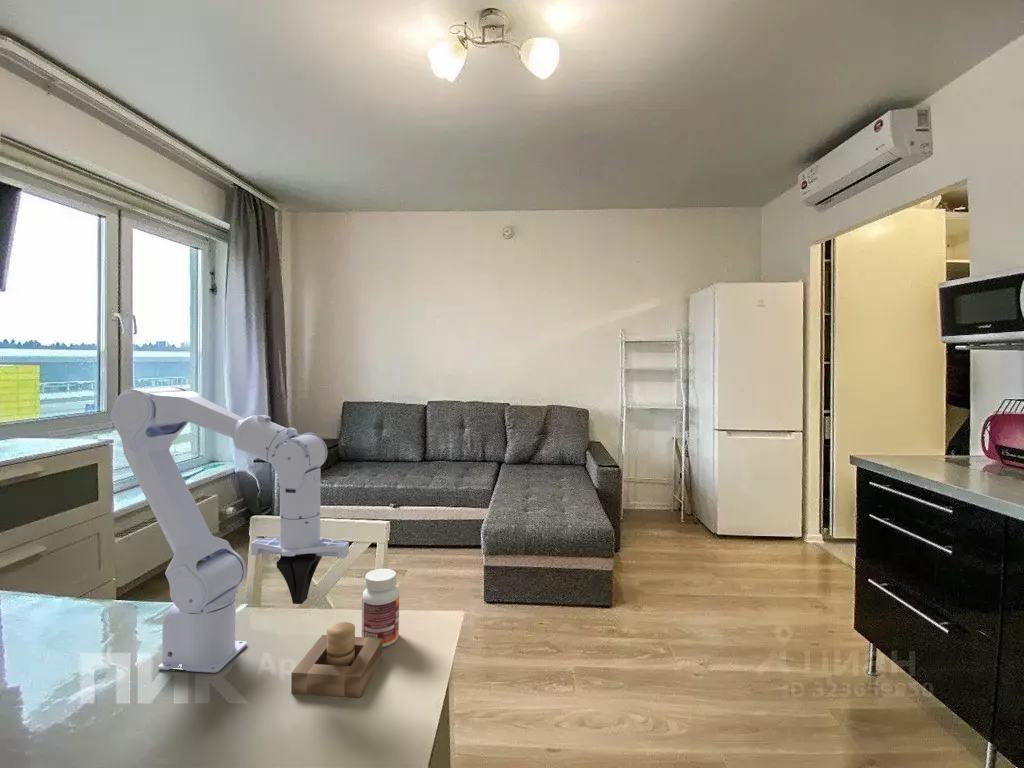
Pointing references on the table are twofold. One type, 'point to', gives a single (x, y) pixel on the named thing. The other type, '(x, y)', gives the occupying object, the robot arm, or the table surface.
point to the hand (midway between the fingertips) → (300, 601)
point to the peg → (341, 644)
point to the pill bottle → (380, 606)
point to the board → (336, 670)
